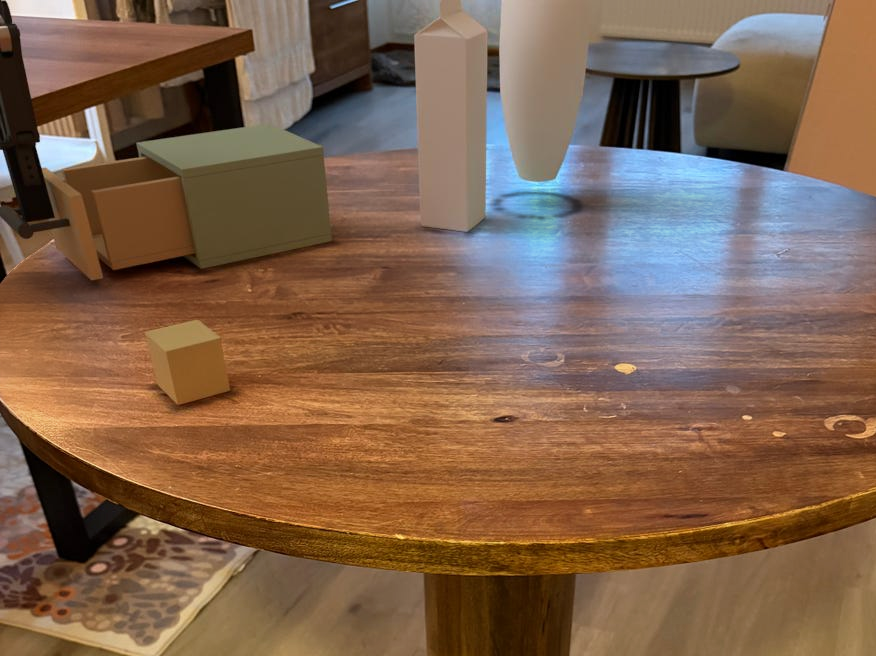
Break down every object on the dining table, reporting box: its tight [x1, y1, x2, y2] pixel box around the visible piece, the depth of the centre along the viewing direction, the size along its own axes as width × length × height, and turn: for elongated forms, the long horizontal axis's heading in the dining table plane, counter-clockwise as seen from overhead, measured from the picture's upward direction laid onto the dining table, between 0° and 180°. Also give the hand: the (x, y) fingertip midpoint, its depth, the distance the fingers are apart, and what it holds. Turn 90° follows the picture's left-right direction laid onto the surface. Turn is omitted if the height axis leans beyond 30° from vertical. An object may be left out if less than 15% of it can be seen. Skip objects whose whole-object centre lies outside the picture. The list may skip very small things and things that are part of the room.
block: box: [144, 319, 231, 406], centre depth 74 cm, size 4×4×4 cm
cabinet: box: [135, 123, 333, 270], centre depth 100 cm, size 16×13×10 cm
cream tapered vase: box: [498, 0, 591, 183], centre depth 107 cm, size 10×10×22 cm
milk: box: [413, 0, 488, 233], centre depth 101 cm, size 6×6×22 cm
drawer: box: [0, 156, 195, 281], centre depth 94 cm, size 19×11×8 cm, turn 126°
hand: (38, 217), depth 90 cm, fingers closed
